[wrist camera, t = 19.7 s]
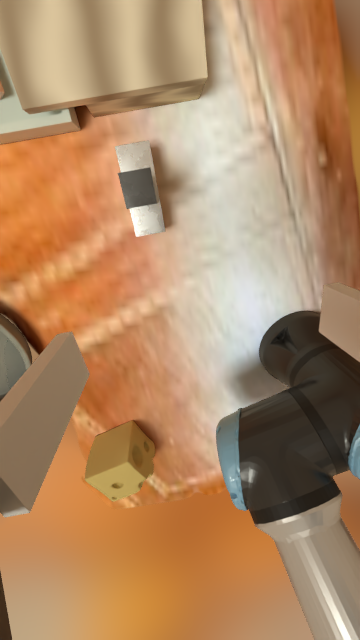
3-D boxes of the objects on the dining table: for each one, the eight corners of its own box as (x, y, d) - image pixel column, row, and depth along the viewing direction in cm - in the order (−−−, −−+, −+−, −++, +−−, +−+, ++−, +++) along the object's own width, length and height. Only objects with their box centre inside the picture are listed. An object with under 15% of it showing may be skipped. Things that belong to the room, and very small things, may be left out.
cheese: (155, 442, 56) (155, 487, 47) (117, 458, 58) (110, 505, 49) (133, 417, 52) (128, 461, 43) (92, 435, 53) (79, 481, 44)
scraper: (149, 147, 30) (147, 117, 20) (164, 228, 35) (168, 239, 24) (119, 153, 30) (100, 125, 19) (138, 233, 35) (130, 246, 24)
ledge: (186, -29, 24) (194, -88, 19) (198, 99, 28) (207, 77, 24) (3, 2, 24) (-36, -51, 19) (45, 125, 28) (22, 109, 23)
